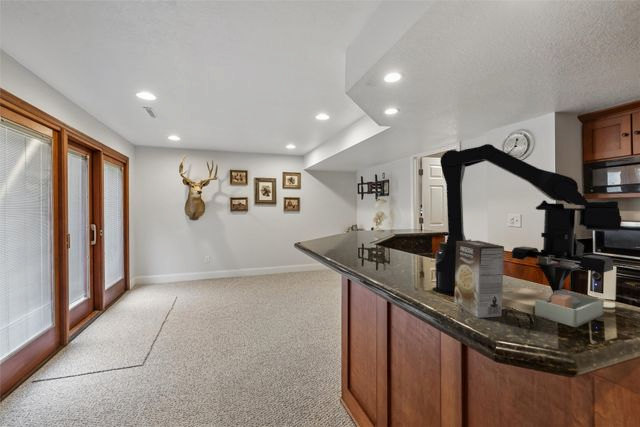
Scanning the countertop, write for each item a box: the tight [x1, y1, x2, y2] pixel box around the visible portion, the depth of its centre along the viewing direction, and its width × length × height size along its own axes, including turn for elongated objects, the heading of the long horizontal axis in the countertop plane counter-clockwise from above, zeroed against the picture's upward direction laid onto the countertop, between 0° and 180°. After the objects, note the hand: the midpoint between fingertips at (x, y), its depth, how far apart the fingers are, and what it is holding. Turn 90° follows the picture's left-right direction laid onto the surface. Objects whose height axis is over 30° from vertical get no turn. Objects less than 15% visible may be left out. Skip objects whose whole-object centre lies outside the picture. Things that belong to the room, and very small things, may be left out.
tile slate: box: [549, 289, 581, 309], centre depth 71 cm, size 4×4×2 cm
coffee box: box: [453, 240, 505, 319], centre depth 71 cm, size 9×6×16 cm
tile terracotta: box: [551, 294, 573, 309], centre depth 68 cm, size 4×4×2 cm
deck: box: [502, 287, 553, 315], centre depth 76 cm, size 9×14×2 cm, turn 120°
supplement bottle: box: [434, 241, 447, 278], centre depth 100 cm, size 7×7×12 cm
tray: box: [534, 291, 605, 328], centre depth 68 cm, size 8×14×4 cm, turn 120°
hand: (556, 293), depth 73 cm, fingers closed
